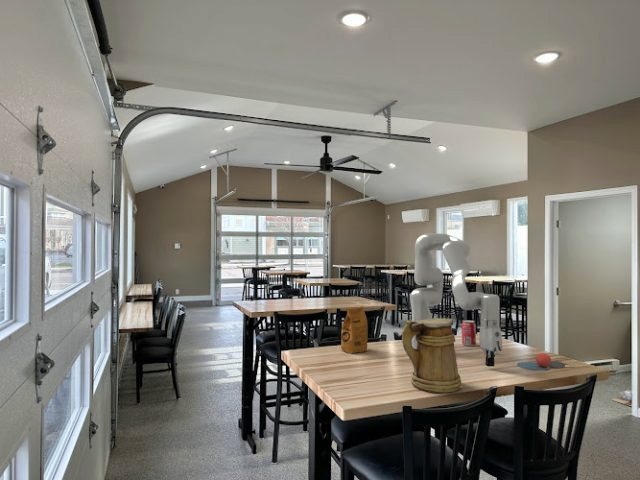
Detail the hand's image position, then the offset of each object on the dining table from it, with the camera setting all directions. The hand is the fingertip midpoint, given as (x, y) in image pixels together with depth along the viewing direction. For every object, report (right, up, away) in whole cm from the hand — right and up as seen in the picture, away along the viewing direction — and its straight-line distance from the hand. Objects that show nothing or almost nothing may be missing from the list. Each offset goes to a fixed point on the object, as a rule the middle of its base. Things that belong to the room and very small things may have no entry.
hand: (489, 365), depth 181 cm
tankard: (-31, -1, -22) cm, 39 cm away
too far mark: (+33, -2, +8) cm, 34 cm away
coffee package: (-56, -2, +30) cm, 64 cm away
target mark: (+21, -2, +5) cm, 22 cm away
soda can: (+7, -3, +44) cm, 45 cm away
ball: (+25, +1, +4) cm, 26 cm away
